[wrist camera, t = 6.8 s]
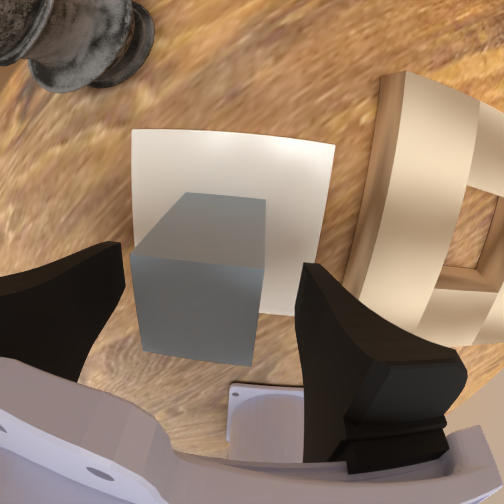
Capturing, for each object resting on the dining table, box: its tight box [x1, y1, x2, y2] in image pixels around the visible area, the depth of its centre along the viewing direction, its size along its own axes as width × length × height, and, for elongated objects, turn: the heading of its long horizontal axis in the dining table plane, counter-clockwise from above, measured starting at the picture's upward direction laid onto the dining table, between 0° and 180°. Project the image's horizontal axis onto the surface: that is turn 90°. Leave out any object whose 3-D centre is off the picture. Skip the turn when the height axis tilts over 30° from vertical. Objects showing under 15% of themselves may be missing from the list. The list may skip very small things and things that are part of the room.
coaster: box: [131, 129, 335, 316], centre depth 16 cm, size 10×10×1 cm
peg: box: [130, 192, 266, 366], centre depth 13 cm, size 4×4×7 cm
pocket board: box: [342, 71, 504, 347], centre depth 14 cm, size 14×14×3 cm
